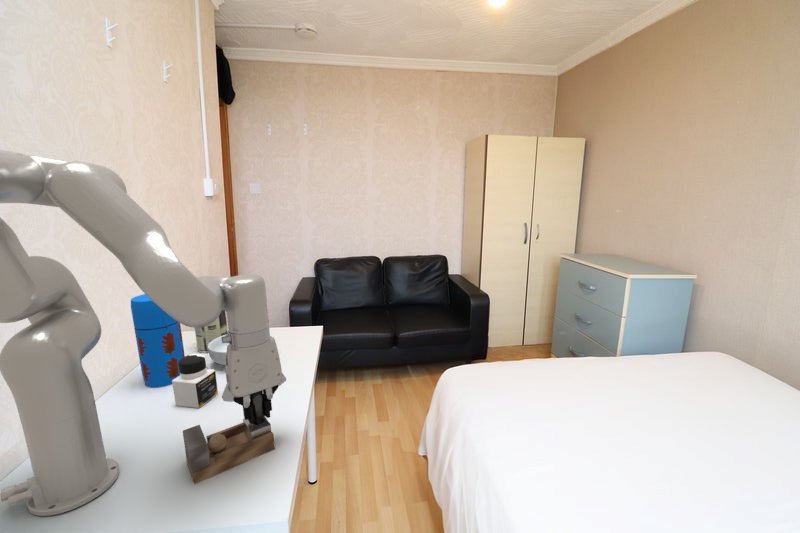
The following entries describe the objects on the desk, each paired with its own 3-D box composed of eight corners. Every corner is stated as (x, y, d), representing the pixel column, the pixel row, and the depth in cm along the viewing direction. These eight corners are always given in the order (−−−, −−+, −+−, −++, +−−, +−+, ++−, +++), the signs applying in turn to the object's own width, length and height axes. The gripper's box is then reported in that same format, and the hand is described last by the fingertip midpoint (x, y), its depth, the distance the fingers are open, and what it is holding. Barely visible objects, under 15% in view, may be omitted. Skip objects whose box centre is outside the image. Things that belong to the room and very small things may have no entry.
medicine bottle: (199, 408, 91) (193, 364, 89) (175, 406, 93) (168, 362, 91) (218, 393, 98) (213, 352, 96) (195, 391, 100) (190, 350, 97)
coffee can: (218, 339, 136) (214, 303, 134) (235, 344, 131) (231, 307, 128) (190, 349, 128) (185, 310, 125) (207, 355, 122) (202, 315, 120)
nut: (210, 459, 71) (208, 443, 70) (207, 450, 73) (205, 435, 73) (229, 451, 73) (227, 436, 72) (225, 442, 75) (223, 428, 75)
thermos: (190, 367, 114) (179, 289, 109) (183, 383, 104) (171, 298, 99) (149, 373, 110) (136, 293, 105) (138, 391, 100) (123, 303, 96)
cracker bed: (194, 484, 67) (189, 450, 66) (186, 460, 73) (182, 429, 72) (274, 448, 76) (271, 418, 75) (262, 430, 82) (259, 402, 81)
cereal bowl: (231, 378, 106) (228, 356, 105) (199, 365, 115) (196, 344, 114) (278, 356, 121) (276, 336, 119) (246, 346, 129) (244, 327, 128)
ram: (252, 444, 74) (247, 400, 72) (244, 430, 79) (239, 389, 77) (271, 436, 77) (267, 393, 75) (262, 423, 81) (258, 382, 79)
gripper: (210, 353, 66) (221, 443, 70) (295, 331, 76) (302, 411, 79) (201, 340, 72) (212, 424, 75) (282, 322, 82) (288, 397, 85)
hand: (258, 417), depth 77 cm, fingers closed on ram, 2 cm apart
